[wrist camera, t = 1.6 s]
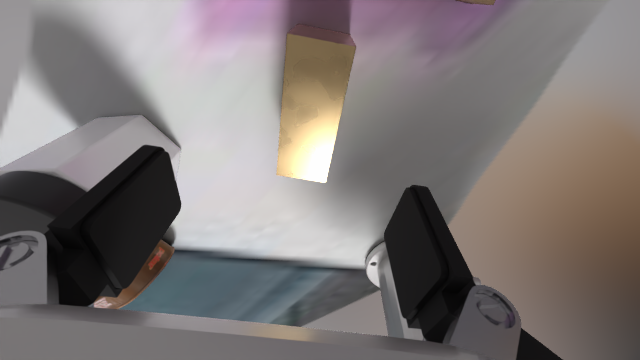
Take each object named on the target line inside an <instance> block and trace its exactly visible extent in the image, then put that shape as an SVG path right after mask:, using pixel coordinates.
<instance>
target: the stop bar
mask: <svg viewBox="0 0 640 360" xmlns="http://www.w3.org/2000/svg"><path fill="white" fill-rule="evenodd" d="M355 50H356V45H355V43H354V41H353V39H352V37H351V35H350V34H347V33H342V32H337V31H332V30H327V29H322V28H317V27H311V26H306V25H301V24H297V25H296V26H295V27H294V28H293V29H292V30H290V31H289V32H288V33H287V41H286V54H285V67H284V81H283V94H282V108H281V121H280V135H279V148H278V162H277V175H279V176H286V177H292V178H299V179H305V180H312V181H318V182H325V183H326V178H327V174H328V169H329V165H330V161H331V156H332V152H333V147H334V143H335V138H336V134H337V130H338V125H339V121H340V116H341V112H342V107H343V103H344V99H345V94H346V90H347V85H348V81H349V76H350V72H351V68H352V63H353V59H354V54H355Z"/></svg>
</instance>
